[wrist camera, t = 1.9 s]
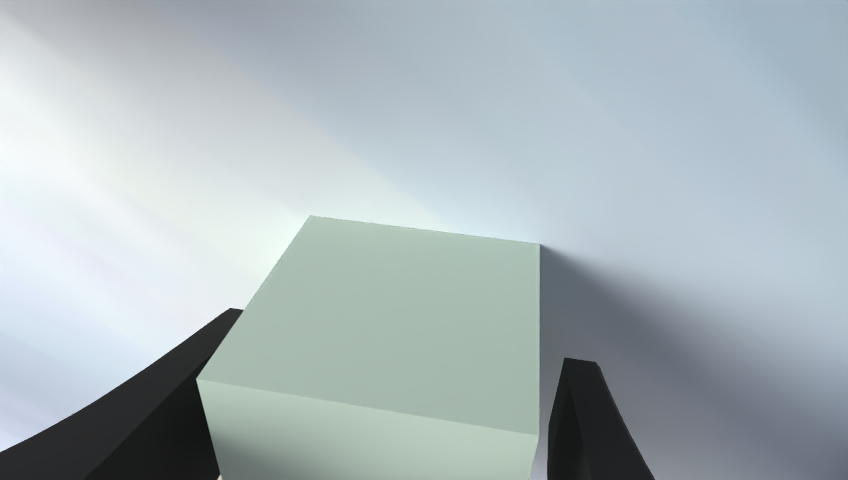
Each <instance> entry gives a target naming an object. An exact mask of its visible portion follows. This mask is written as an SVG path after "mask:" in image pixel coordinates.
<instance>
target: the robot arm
mask: <svg viewBox="0 0 848 480" xmlns="http://www.w3.org/2000/svg"><path fill="white" fill-rule="evenodd" d="M243 311H244V310H240V309H233V308H229V309H228V310H226V311H225V312H224V313H222V314H221V315H219V316H218V317H216V318H215V319H214V320H212V321H211V322H210V323H208V324H207V325H205V326H204V327H203V328H201V329H200V330H199V331H197V332H196V333H195V334H193V335H192V336H190V337H189V338H188V339H186V340H185V341H184V342H182V343H181V344H179V345H178V346H177V347H175V348H174V349H172V350H171V351H170V352H168V353H167V354H165V355H164V356H162V357H161V358H160V359H158V360H157V361H155V362H154V363H153V364H151V365H150V366H148V367H147V368H145V369H144V370H143V371H141V372H139V373H138V374H136V375H135V376H133V377H132V378H130V379H129V380H127V381H126V382H124V383H123V384H121V385H119V386H118V387H116V388H115V389H113V390H112V391H110V392H109V393H107V394H106V395H104V396H103V397H101V398H99V399H98V400H96V401H95V402H93V403H91V404H90V405H88V406H86V407H85V408H83V409H81V410H80V411H78V412H76V413H74V414H73V415H71V416H69V417H67V418H66V419H64V420H62V421H60V422H58V423H57V424H55V425H53V426H51V427H49V428H48V429H46V430H44V431H42V432H40V433H38V434H36V435H34V436H33V437H31V438H29V439H27V440H24V441H22V442H20V443H18V444H16V445H14V446H12V447H10V448H8V449H6V450H4V451H2V452H0V480H218V478H219V476H220V470H219V466H218V462H217V458H216V455H215V451H214V447H213V443H212V439H211V435H210V431H209V427H208V423H207V419H206V416H205V412H204V408H203V404H202V400H201V396H200V392H199V388H198V384H197V380H196V378H197V377H198V376H199V374H200V373H201V371H202V370H203V368H204V367H205V366H206V364H207V363H208V361H209V360H210V358H211V357H212V356H213V354H214V353H215V351H216V350H217V348H218V347H219V345H220V344H221V343H222V341H223V340H224V338H225V337H226V335H227V334H228V333H229V331H230V330H231V328H232V327H233V325H234V324H235V323H236V321H237V320H238V318H239V317H240V315H241V314H242V312H243ZM547 478H548V480H655V479H654V477H653V475H652V473H651V472H650V470H649V468H648V466H647V465H646V463H645V461H644V459H643V457H642V455H641V454H640V452H639V450H638V448H637V446H636V444H635V442H634V441H633V439H632V437H631V435H630V433H629V431H628V429H627V427H626V425H625V423H624V421H623V419H622V417H621V415H620V413H619V411H618V409H617V406H616V404H615V402H614V400H613V398H612V396H611V393H610V391H609V389H608V386H607V384H606V382H605V379H604V377H603V374H602V372H601V369H600V367H599V366H598V365H597V363H596V362H591V361H584V360H578V359H571V358H564V362H563V366H562V371H561V375H560V379H559V383H558V388H557V392H556V396H555V400H554V405H553V409H552V413H551V417H550V422H549V431H548V461H547Z"/></svg>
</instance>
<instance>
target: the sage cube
mask: <svg viewBox="0 0 848 480" xmlns="http://www.w3.org/2000/svg"><path fill="white" fill-rule="evenodd" d="M196 380H197V384H198V388H199V392H200V396H201V400H202V404H203V408H204V412H205V416H206V419H207V423H208V427H209V431H210V435H211V439H212V443H213V447H214V451H215V455H216V458H217V462H218V466H219V470H220V474H221V478H222V480H530V475H531V471H532V467H533V462H534V458H535V453H536V449H537V444H538V440H539V386H540V244H536V243H528V242H520V241H512V240H504V239H496V238H488V237H480V236H472V235H464V234H455V233H447V232H439V231H431V230H423V229H415V228H407V227H399V226H391V225H383V224H375V223H366V222H358V221H350V220H342V219H334V218H326V217H318V216H309V218H308V219H307V221H306V222H305V224H304V225H303V226H302V228H301V229H300V231H299V232H298V234H297V235H296V236H295V238H294V239H293V241H292V242H291V244H290V245H289V246H288V248H287V249H286V251H285V252H284V254H283V255H282V257H281V258H280V259H279V261H278V262H277V264H276V265H275V267H274V268H273V269H272V271H271V272H270V274H269V275H268V277H267V278H266V279H265V281H264V282H263V284H262V285H261V287H260V288H259V290H258V291H257V292H256V294H255V295H254V297H253V298H252V300H251V301H250V302H249V304H248V305H247V307H246V308H245V310H244V311H243V312H242V314H241V315H240V317H239V318H238V320H237V321H236V323H235V324H234V325H233V327H232V328H231V330H230V331H229V333H228V334H227V335H226V337H225V338H224V340H223V341H222V343H221V344H220V345H219V347H218V348H217V350H216V351H215V353H214V354H213V356H212V357H211V358H210V360H209V361H208V363H207V364H206V366H205V367H204V368H203V370H202V371H201V373H200V374H199V376H198V377H197V378H196Z"/></svg>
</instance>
